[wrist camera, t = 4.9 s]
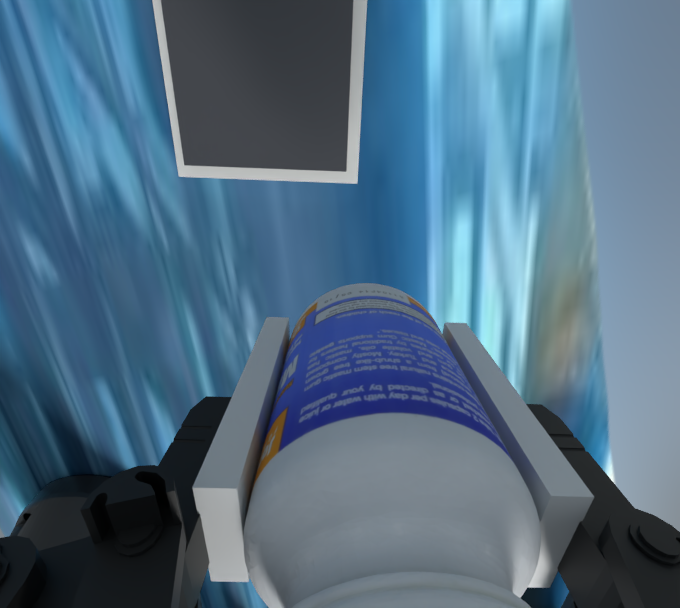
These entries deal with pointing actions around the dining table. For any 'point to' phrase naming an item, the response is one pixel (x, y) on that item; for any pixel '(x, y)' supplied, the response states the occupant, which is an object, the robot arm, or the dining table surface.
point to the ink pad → (264, 87)
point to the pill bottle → (384, 471)
